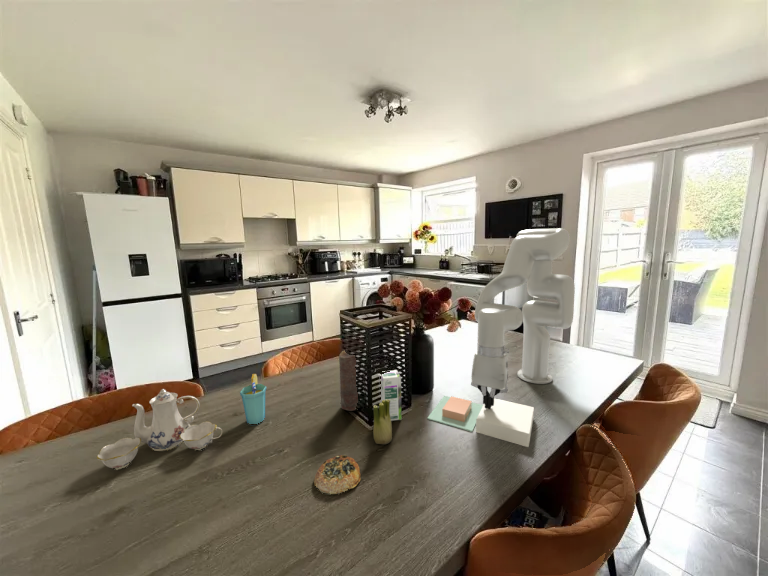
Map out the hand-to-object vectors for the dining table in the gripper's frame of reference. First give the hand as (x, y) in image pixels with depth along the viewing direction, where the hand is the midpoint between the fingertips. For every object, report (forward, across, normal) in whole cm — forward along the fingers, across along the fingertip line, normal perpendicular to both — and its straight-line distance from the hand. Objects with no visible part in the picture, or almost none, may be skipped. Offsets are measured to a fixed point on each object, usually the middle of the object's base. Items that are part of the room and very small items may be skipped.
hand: (488, 406), depth 94 cm
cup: (+5, +64, +35) cm, 73 cm away
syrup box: (+5, +28, +12) cm, 31 cm away
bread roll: (+5, +27, +41) cm, 49 cm away
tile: (+2, +10, 0) cm, 10 cm away
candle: (+5, +42, +14) cm, 44 cm away
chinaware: (+5, +76, +55) cm, 94 cm away
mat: (+5, +10, 0) cm, 11 cm away
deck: (+5, -5, 0) cm, 7 cm away
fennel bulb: (+5, +24, +24) cm, 34 cm away
